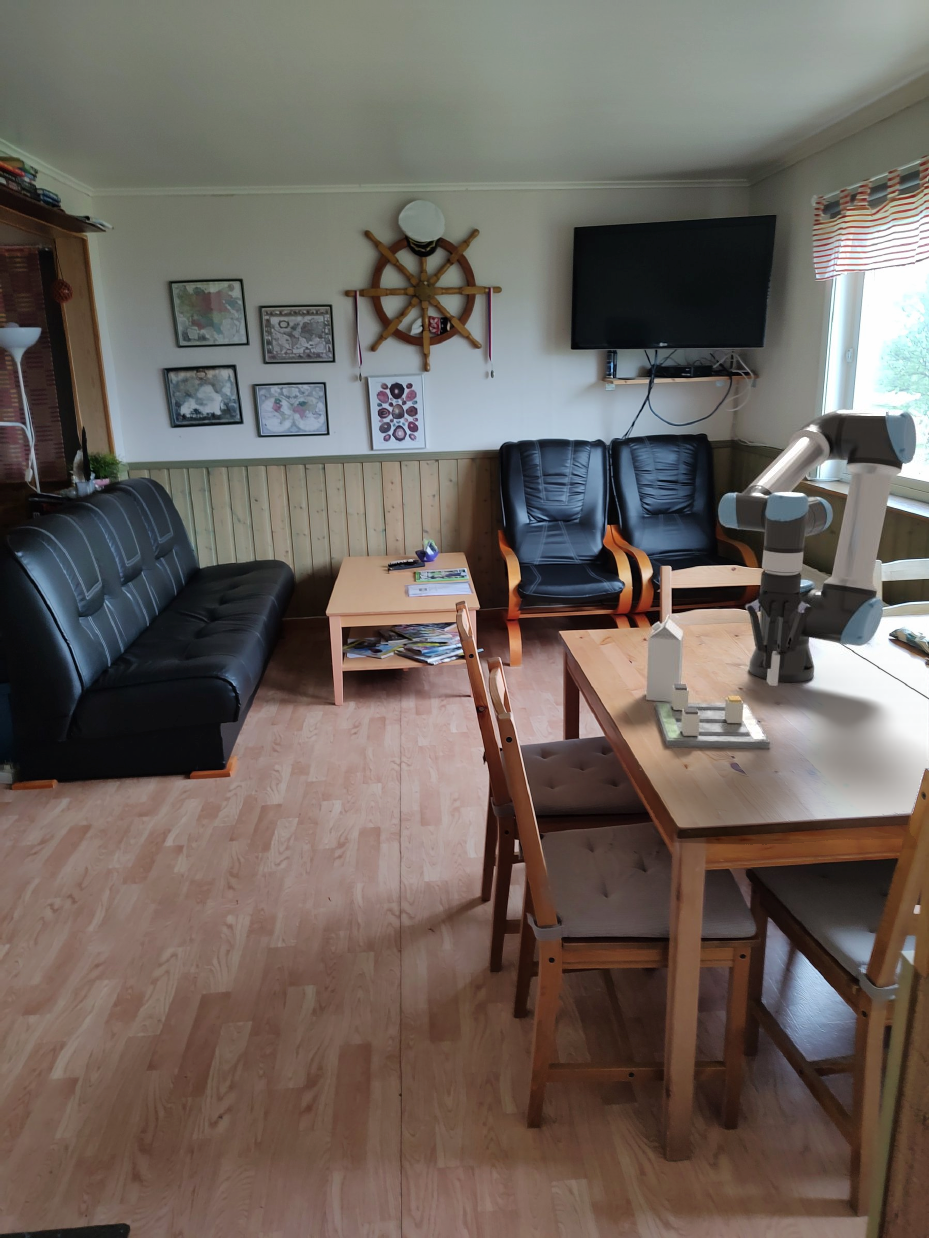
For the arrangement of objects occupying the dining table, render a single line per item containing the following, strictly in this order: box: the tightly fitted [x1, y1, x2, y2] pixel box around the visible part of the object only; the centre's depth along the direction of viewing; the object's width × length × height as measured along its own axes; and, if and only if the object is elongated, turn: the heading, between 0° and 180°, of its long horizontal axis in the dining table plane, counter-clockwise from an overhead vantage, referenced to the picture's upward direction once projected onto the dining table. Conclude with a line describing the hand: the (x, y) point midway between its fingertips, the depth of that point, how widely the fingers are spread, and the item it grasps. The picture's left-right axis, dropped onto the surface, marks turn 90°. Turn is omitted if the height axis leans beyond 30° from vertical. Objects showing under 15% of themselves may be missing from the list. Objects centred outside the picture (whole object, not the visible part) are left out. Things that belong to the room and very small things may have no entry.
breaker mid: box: [724, 695, 745, 723], centre depth 178 cm, size 3×3×5 cm
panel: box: [654, 701, 771, 750], centre depth 180 cm, size 20×21×2 cm
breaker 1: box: [672, 683, 689, 710], centre depth 186 cm, size 3×3×5 cm
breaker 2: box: [681, 707, 700, 736], centre depth 173 cm, size 3×3×5 cm
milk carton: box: [645, 613, 684, 702], centre depth 196 cm, size 7×7×19 cm
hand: (772, 683), depth 176 cm, fingers closed
